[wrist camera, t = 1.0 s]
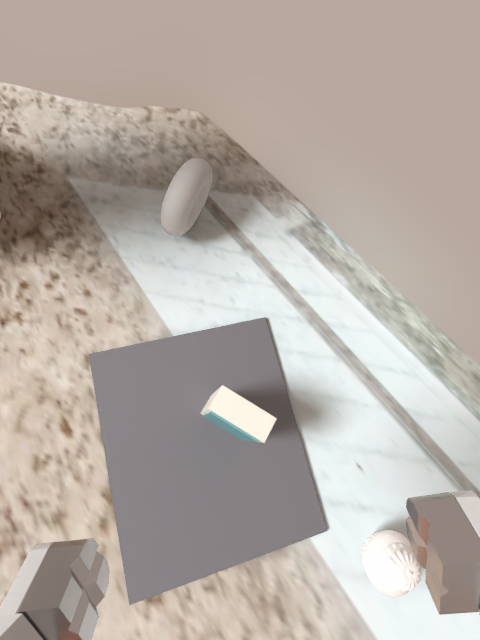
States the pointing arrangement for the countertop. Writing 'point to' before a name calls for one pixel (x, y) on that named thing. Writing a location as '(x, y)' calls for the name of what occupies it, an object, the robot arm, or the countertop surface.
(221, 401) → the card box
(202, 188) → the donut
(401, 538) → the muffin
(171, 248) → the countertop surface
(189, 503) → the mat
